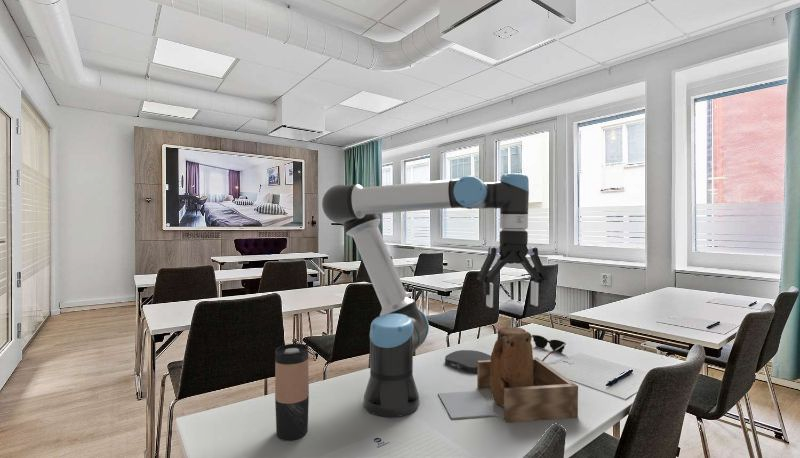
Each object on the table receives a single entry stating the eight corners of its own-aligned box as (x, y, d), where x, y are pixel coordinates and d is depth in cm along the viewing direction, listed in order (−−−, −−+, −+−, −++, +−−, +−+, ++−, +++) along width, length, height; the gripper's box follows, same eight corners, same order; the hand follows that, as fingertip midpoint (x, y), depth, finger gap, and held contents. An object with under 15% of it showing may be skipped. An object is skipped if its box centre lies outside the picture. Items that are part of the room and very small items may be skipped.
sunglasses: (566, 354, 146) (566, 341, 146) (544, 367, 136) (544, 354, 135) (532, 345, 157) (532, 333, 156) (510, 357, 146) (510, 344, 146)
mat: (451, 419, 98) (451, 417, 98) (438, 394, 111) (438, 393, 111) (496, 415, 99) (496, 414, 99) (478, 392, 113) (478, 390, 113)
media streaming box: (499, 365, 136) (499, 356, 136) (474, 376, 126) (474, 367, 126) (466, 354, 146) (466, 346, 146) (440, 364, 137) (440, 355, 137)
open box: (506, 422, 96) (506, 390, 96) (477, 386, 117) (477, 360, 117) (577, 417, 99) (578, 386, 99) (537, 383, 120) (537, 357, 119)
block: (518, 392, 113) (518, 324, 112) (536, 404, 106) (536, 331, 105) (486, 399, 109) (487, 328, 108) (503, 411, 102) (503, 335, 101)
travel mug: (311, 423, 95) (311, 343, 95) (305, 441, 88) (304, 353, 87) (280, 424, 95) (280, 343, 95) (271, 441, 88) (270, 354, 87)
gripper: (476, 229, 102) (475, 310, 102) (562, 230, 106) (560, 307, 107) (466, 229, 109) (465, 304, 109) (546, 230, 114) (544, 301, 114)
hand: (512, 305), depth 108 cm, fingers open, 13 cm apart
